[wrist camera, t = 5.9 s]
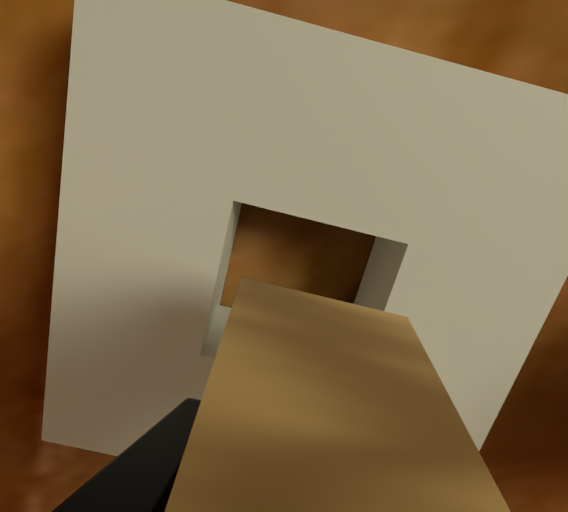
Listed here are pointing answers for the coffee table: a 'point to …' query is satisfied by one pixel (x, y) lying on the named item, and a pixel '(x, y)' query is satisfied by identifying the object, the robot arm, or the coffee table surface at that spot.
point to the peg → (326, 416)
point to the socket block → (288, 201)
